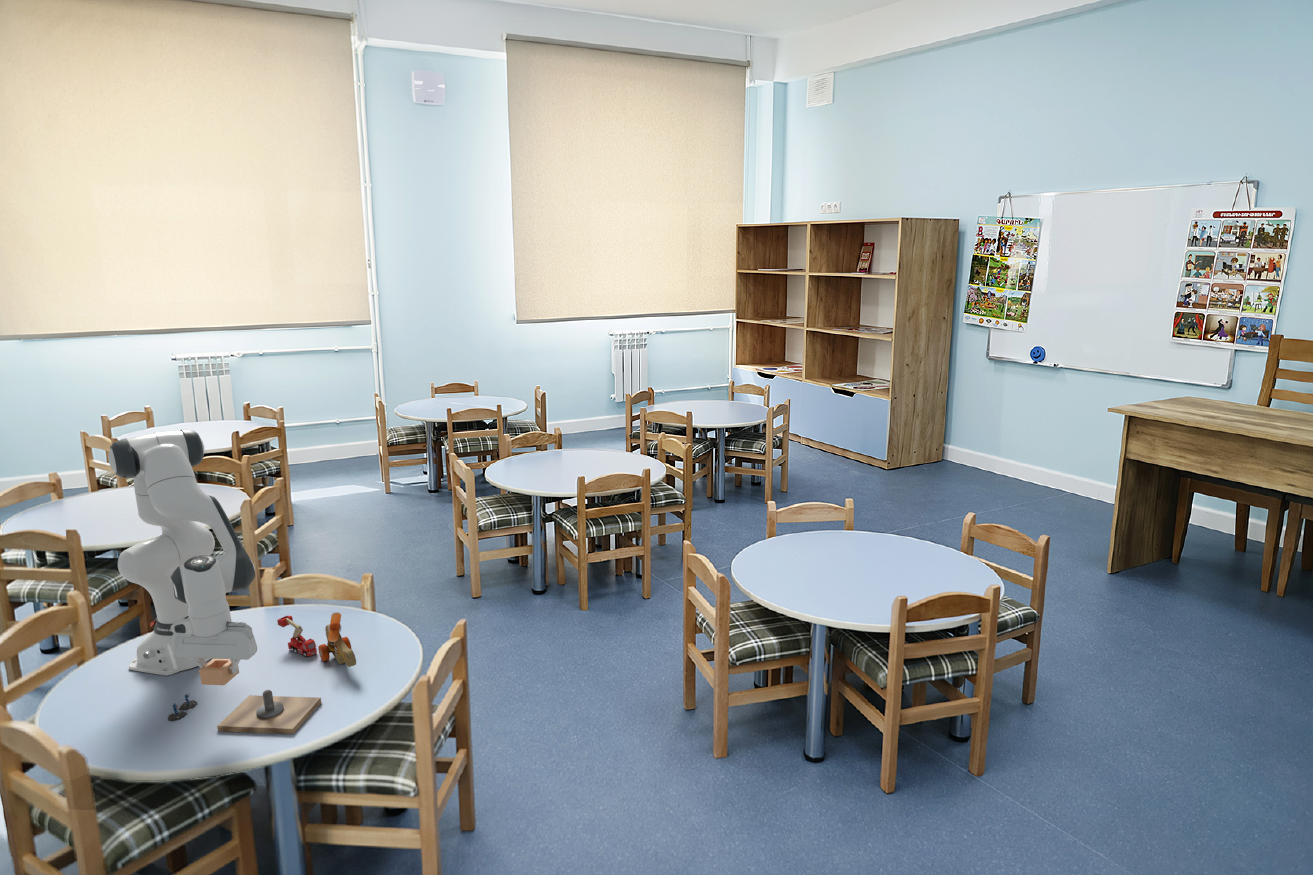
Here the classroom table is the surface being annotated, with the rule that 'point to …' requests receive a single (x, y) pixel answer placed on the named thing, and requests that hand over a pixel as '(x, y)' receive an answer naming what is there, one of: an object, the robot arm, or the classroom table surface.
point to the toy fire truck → (298, 638)
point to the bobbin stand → (270, 714)
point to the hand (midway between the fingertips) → (220, 672)
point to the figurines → (184, 706)
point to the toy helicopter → (337, 643)
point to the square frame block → (216, 672)
